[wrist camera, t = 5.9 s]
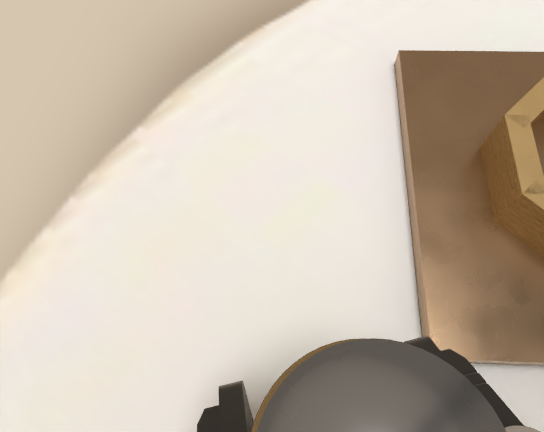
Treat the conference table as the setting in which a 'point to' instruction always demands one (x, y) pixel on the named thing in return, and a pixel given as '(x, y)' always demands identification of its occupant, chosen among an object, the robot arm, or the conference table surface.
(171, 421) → the conference table surface
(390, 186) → the conference table surface
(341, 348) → the cylinder
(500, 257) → the octagon frame base plate
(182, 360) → the conference table surface
